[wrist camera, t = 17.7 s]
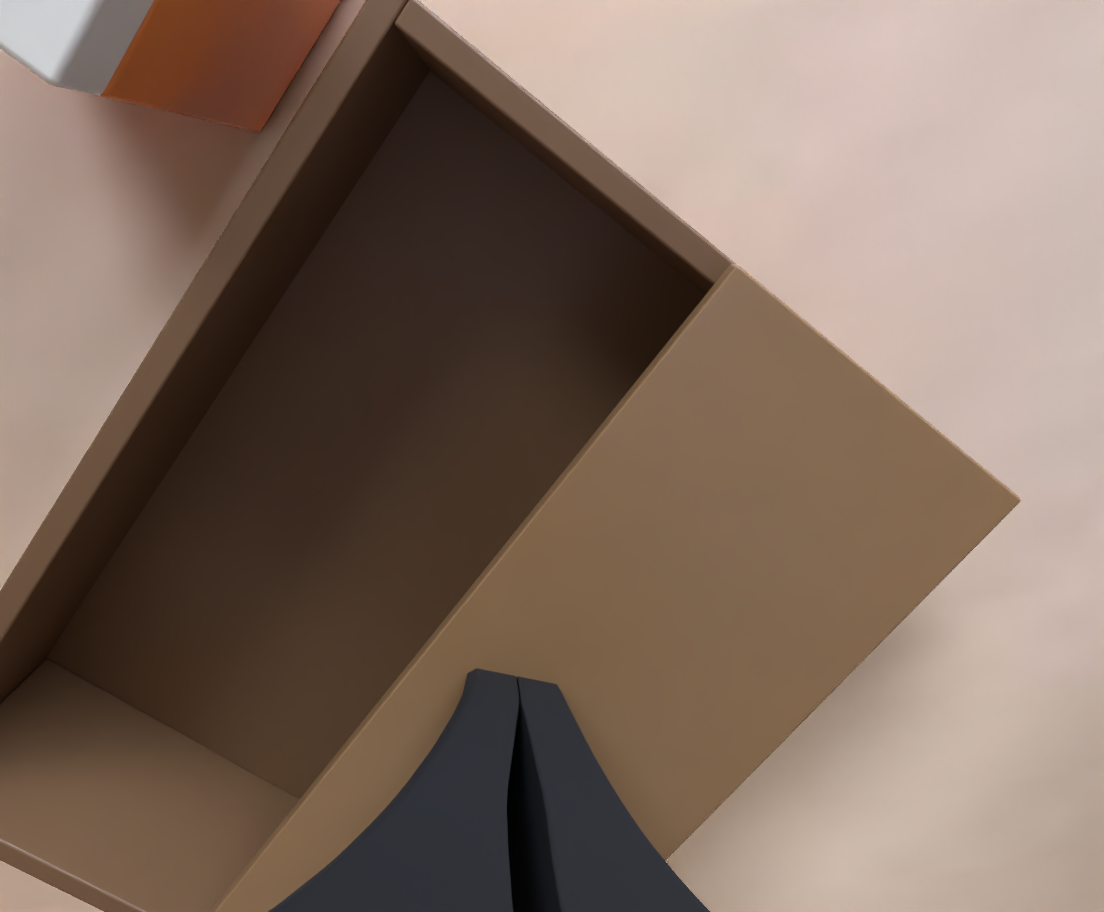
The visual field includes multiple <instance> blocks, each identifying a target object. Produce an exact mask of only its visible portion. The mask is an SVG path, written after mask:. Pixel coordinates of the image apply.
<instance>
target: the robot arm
mask: <svg viewBox="0 0 1104 912" xmlns="http://www.w3.org/2000/svg"><path fill="white" fill-rule="evenodd" d="M268 912H710V911H709V910H708V909H707V908H706V907H705V906H704V905H703V904H702V903H701V902H700V901H699V900H698V899H697V898H696V897H695V895H694V894H693V893H692V892H691V891H690V890H689V889H688V888H687V886H686V885H685V884H684V883H683V882H682V881H681V880H680V879H679V877H678V876H677V875H676V874H675V872H674V871H673V870H672V869H671V868H670V866H669V865H668V864H667V863H666V861H665V860H664V859H663V858H662V856H661V855H660V854H659V853H658V852H657V850H656V849H655V848H654V847H653V845H652V844H651V843H650V841H649V840H648V839H647V837H646V836H645V835H644V833H643V832H642V831H641V829H640V828H639V827H638V825H637V824H636V822H635V821H634V819H633V818H632V816H631V815H630V813H629V812H628V810H627V809H626V807H625V806H624V804H623V803H622V801H621V800H620V798H619V797H618V795H617V793H616V792H615V790H614V789H613V787H612V785H611V784H610V782H609V780H608V779H607V777H606V775H605V773H604V772H603V770H602V768H601V767H600V765H599V763H598V761H597V760H596V758H595V756H594V754H593V753H592V751H591V749H590V747H589V745H588V743H587V742H586V740H585V738H584V736H583V734H582V732H581V730H580V728H579V726H578V724H577V722H576V720H575V718H574V716H573V714H572V712H571V710H570V708H569V706H568V704H567V702H566V700H565V698H564V696H563V694H562V692H561V690H560V689H559V687H558V685H557V684H554V683H549V682H544V681H539V680H534V679H529V678H524V677H519V676H517V680H516V676H514V675H509V674H504V673H499V672H493V671H488V670H483V669H478V668H476V669H474V670H473V671H471V672H469V673H467V678H466V682H465V686H464V690H463V694H462V696H461V699H460V701H459V703H458V705H457V707H456V709H455V711H454V713H453V715H452V717H451V719H450V720H449V722H448V724H447V725H446V727H445V728H444V730H443V732H442V733H441V735H440V737H439V738H438V740H437V742H436V743H435V745H434V746H433V748H432V749H431V751H430V752H429V754H428V755H427V756H426V758H425V759H424V760H423V762H422V763H421V764H420V766H419V767H418V768H417V770H416V771H415V772H414V774H413V775H412V777H411V778H410V779H409V781H408V782H407V783H406V784H405V786H404V787H403V788H402V789H401V790H400V792H399V793H398V794H397V795H396V796H395V798H394V799H393V800H392V801H391V802H390V803H389V805H388V806H387V807H386V808H385V809H384V810H383V811H382V812H381V813H380V814H379V815H378V817H377V818H376V819H375V820H374V821H373V822H372V823H371V824H370V825H369V826H368V827H367V828H366V829H365V830H364V831H363V832H362V833H361V834H360V835H359V836H358V837H357V838H356V839H355V840H354V841H353V842H352V843H351V844H350V845H349V846H348V847H347V848H346V849H345V850H343V851H342V852H341V853H340V854H339V855H338V856H337V857H336V858H335V859H334V860H332V861H331V862H330V863H329V864H328V865H327V866H326V867H324V868H323V869H322V870H321V871H319V872H318V873H317V874H316V875H314V876H313V877H312V878H311V879H309V880H308V881H307V882H306V883H304V884H303V885H302V886H301V887H299V888H298V889H297V890H296V891H294V892H293V893H292V894H291V895H289V896H288V897H287V898H286V899H284V900H283V901H282V902H280V903H279V904H278V905H276V906H275V907H274V908H272V909H271V910H270V911H268Z"/></svg>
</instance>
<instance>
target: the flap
mask: <svg viewBox="0 0 1104 912" xmlns="http://www.w3.org/2000/svg"><path fill="white" fill-rule="evenodd" d="M1020 501H1021V500H1020V498H1019V497H1018V496H1017V495H1016V494H1015V493H1013V492H1012V491H1011V490H1010V489H1009V488H1007V487H1006V486H1005V485H1004V484H1002V483H1001V482H1000V481H999V480H998V479H996V478H995V477H994V476H993V475H992V474H990V473H989V472H988V471H987V470H985V469H984V468H983V467H982V466H981V465H979V464H978V463H977V462H976V461H975V460H973V459H972V458H971V457H970V456H969V455H967V454H966V453H965V452H964V451H962V450H961V449H960V448H959V447H958V446H956V445H955V444H954V443H953V442H952V441H950V440H949V439H948V438H947V437H945V436H944V435H943V434H942V433H941V432H939V431H938V430H937V429H936V428H935V427H933V426H932V425H931V424H930V423H929V422H927V421H926V420H925V419H924V418H922V417H921V416H920V415H919V414H918V413H916V412H915V411H914V410H913V409H912V408H910V407H909V406H908V405H907V404H905V403H904V402H903V401H902V400H901V399H899V398H898V397H897V396H896V395H895V394H893V393H892V392H891V391H890V390H889V389H887V388H886V387H885V386H884V385H882V384H881V383H880V382H879V381H878V380H876V379H875V378H874V377H873V376H872V375H870V374H869V373H868V372H867V371H865V370H864V369H863V368H862V367H861V366H859V365H858V364H857V363H856V362H855V361H853V360H852V359H851V358H850V357H849V356H847V355H846V354H845V353H844V352H842V351H841V350H840V349H839V348H838V347H836V346H835V345H834V344H833V343H832V342H830V341H829V340H828V339H827V338H826V337H824V336H823V335H822V334H821V333H819V332H818V331H817V330H816V329H815V328H813V327H812V326H811V325H810V324H809V323H807V322H806V321H805V320H804V319H802V318H801V317H800V316H799V315H798V314H796V313H795V312H794V311H793V310H792V309H790V308H789V307H788V306H787V305H786V304H784V303H783V302H782V301H781V300H779V299H778V298H777V297H776V296H775V295H773V294H772V293H771V292H770V291H769V290H767V289H766V288H765V287H764V286H762V285H761V284H760V283H759V282H758V281H756V280H755V279H754V278H753V277H752V276H750V275H749V274H748V273H747V272H746V271H744V270H743V269H742V268H741V267H739V266H737V265H734V264H731V265H729V267H728V268H727V269H726V270H725V271H724V273H723V274H722V275H721V276H720V278H719V279H718V280H717V281H716V283H715V284H714V285H713V286H712V288H711V289H710V290H709V291H708V293H707V294H706V295H705V296H704V298H703V299H702V300H701V301H700V303H699V304H698V305H697V306H696V308H695V309H694V310H693V311H692V312H691V314H690V315H689V316H688V317H687V319H686V320H685V321H684V322H683V324H682V325H681V326H680V327H679V329H678V330H677V331H676V332H675V334H674V335H673V336H672V337H671V339H670V340H669V341H668V342H667V344H666V345H665V346H664V347H663V349H662V350H661V351H660V352H659V353H658V355H657V356H656V357H655V358H654V360H653V361H652V362H651V363H650V365H649V366H648V367H647V368H646V370H645V371H644V372H643V373H642V375H641V376H640V377H639V378H638V380H637V381H636V382H635V383H634V385H633V386H632V387H631V388H630V390H629V391H628V392H627V393H626V394H625V396H624V397H623V398H622V399H621V401H620V402H619V403H618V404H617V406H616V407H615V408H614V409H613V411H612V412H611V413H610V414H609V416H608V417H607V418H606V419H605V421H604V422H603V423H602V424H601V426H600V427H599V428H598V429H597V431H596V432H595V433H594V434H593V435H592V437H591V438H590V439H589V440H588V442H587V443H586V444H585V445H584V447H583V448H582V449H581V450H580V452H579V453H578V454H577V455H576V457H575V458H574V459H573V460H572V462H571V463H570V464H569V465H568V467H567V468H566V469H565V470H564V472H563V473H562V474H561V475H560V476H559V478H558V479H557V480H556V481H555V483H554V484H553V485H552V486H551V488H550V489H549V490H548V491H547V493H546V494H545V495H544V496H543V498H542V499H541V500H540V501H539V503H538V504H537V505H536V506H535V508H534V509H533V510H532V511H531V513H530V514H529V515H528V516H527V517H526V519H525V520H524V521H523V522H522V524H521V525H520V526H519V527H518V529H517V530H516V531H515V532H514V534H513V535H512V536H511V537H510V539H509V540H508V541H507V542H506V544H505V545H504V546H503V547H502V549H501V550H500V551H499V552H498V554H497V555H496V556H495V557H494V558H493V560H492V561H491V562H490V563H489V565H488V566H487V567H486V568H485V570H484V571H483V572H482V573H481V575H480V576H479V577H478V578H477V580H476V581H475V582H474V583H473V585H472V586H471V587H470V588H469V590H468V591H467V592H466V593H465V595H464V596H463V597H462V598H461V599H460V601H459V602H458V603H457V604H456V606H455V607H454V608H453V609H452V611H451V612H450V613H449V614H448V616H447V617H446V618H445V619H444V621H443V622H442V623H441V624H440V626H439V627H438V628H437V629H436V631H435V632H434V633H433V634H432V636H431V637H430V638H429V639H428V640H427V642H426V643H425V644H424V645H423V647H422V648H421V649H420V650H419V652H418V653H417V654H416V655H415V657H414V658H413V659H412V660H411V662H410V663H409V664H408V665H407V667H406V668H405V669H404V670H403V672H402V673H401V674H400V675H399V677H398V678H397V679H396V680H395V681H394V683H393V684H392V685H391V686H390V688H389V689H388V690H387V691H386V693H385V694H384V695H383V696H382V698H381V699H380V700H379V701H378V703H377V704H376V705H375V706H374V708H373V709H372V710H371V711H370V713H369V714H368V715H367V716H366V718H365V719H364V720H363V721H362V722H361V724H360V725H359V726H358V727H357V729H356V730H355V731H354V732H353V734H352V735H351V736H350V737H349V739H348V740H347V741H346V742H345V744H344V745H343V746H342V747H341V749H340V750H339V751H338V752H337V754H336V755H335V756H334V757H333V759H332V760H331V761H330V762H329V763H328V765H327V766H326V767H325V768H324V770H323V771H322V772H321V773H320V775H319V776H318V777H317V778H316V780H315V781H314V782H313V783H312V785H311V786H310V787H309V788H308V790H307V791H306V792H305V793H304V795H303V796H302V797H301V798H300V800H299V801H298V802H297V803H296V804H295V806H294V807H293V808H292V809H291V811H290V812H289V813H288V814H287V816H286V817H285V818H284V819H283V821H282V822H281V823H280V824H279V826H278V827H277V828H276V829H275V831H274V832H273V833H272V834H271V836H270V837H269V838H268V839H267V841H266V842H265V843H264V844H263V845H262V847H261V848H260V849H259V850H258V852H257V853H256V854H255V855H254V857H253V858H252V859H251V860H250V862H249V863H248V864H247V865H246V867H245V868H244V869H243V870H242V872H241V873H240V874H239V875H238V877H237V878H236V879H235V880H234V882H233V883H232V884H231V885H230V886H229V888H228V889H227V890H226V891H225V893H224V894H223V895H222V896H221V898H220V899H219V900H218V901H217V903H216V904H215V905H214V906H213V908H212V909H211V910H210V911H209V912H268V911H270V910H271V909H272V908H274V907H275V906H276V905H278V904H279V903H280V902H282V901H283V900H284V899H286V898H287V897H288V896H289V895H291V894H292V893H293V892H294V891H296V890H297V889H298V888H299V887H301V886H302V885H303V884H304V883H306V882H307V881H308V880H309V879H311V878H312V877H313V876H314V875H316V874H317V873H318V872H319V871H321V870H322V869H323V868H324V867H326V866H327V865H328V864H329V863H330V862H331V861H332V860H334V859H335V858H336V857H337V856H338V855H339V854H340V853H341V852H342V851H343V850H345V849H346V848H347V847H348V846H349V845H350V844H351V843H352V842H353V841H354V840H355V839H356V838H357V837H358V836H359V835H360V834H361V833H362V832H363V831H364V830H365V829H366V828H367V827H368V826H369V825H370V824H371V823H372V822H373V821H374V820H375V819H376V818H377V817H378V815H379V814H380V813H381V812H382V811H383V810H384V809H385V808H386V807H387V806H388V805H389V803H390V802H391V801H392V800H393V799H394V798H395V796H396V795H397V794H398V793H399V792H400V790H401V789H402V788H403V787H404V786H405V784H406V783H407V782H408V781H409V779H410V778H411V777H412V775H413V774H414V772H415V771H416V770H417V768H418V767H419V766H420V764H421V763H422V762H423V760H424V759H425V758H426V756H427V755H428V754H429V752H430V751H431V749H432V748H433V746H434V745H435V743H436V742H437V740H438V738H439V737H440V735H441V733H442V732H443V730H444V728H445V727H446V725H447V724H448V722H449V720H450V719H451V717H452V715H453V713H454V711H455V709H456V707H457V705H458V703H459V701H460V699H461V696H462V694H463V690H464V686H465V682H466V678H467V673H469V672H471V671H473V670H474V669H476V668H478V669H483V670H488V671H493V672H499V673H504V674H509V675H514V676H516V680H517V676H519V677H524V678H529V679H534V680H539V681H544V682H549V683H554V684H557V685H558V687H559V689H560V690H561V692H562V694H563V696H564V698H565V700H566V702H567V704H568V706H569V708H570V710H571V712H572V714H573V716H574V718H575V720H576V722H577V724H578V726H579V728H580V730H581V732H582V734H583V736H584V738H585V740H586V742H587V743H588V745H589V747H590V749H591V751H592V753H593V754H594V756H595V758H596V760H597V761H598V763H599V765H600V767H601V768H602V770H603V772H604V773H605V775H606V777H607V779H608V780H609V782H610V784H611V785H612V787H613V789H614V790H615V792H616V793H617V795H618V797H619V798H620V800H621V801H622V803H623V804H624V806H625V807H626V809H627V810H628V812H629V813H630V815H631V816H632V818H633V819H634V821H635V822H636V824H637V825H638V827H639V828H640V829H641V831H642V832H643V833H644V835H645V836H646V837H647V839H648V840H649V841H650V843H651V844H652V845H653V847H654V848H655V849H656V850H657V852H658V853H659V854H660V855H661V856H662V858H663V859H664V860H666V859H667V858H668V857H669V856H670V855H671V854H672V853H673V852H674V851H675V850H676V849H677V848H678V847H679V846H680V845H681V844H682V843H683V842H684V841H685V840H686V839H687V838H688V837H689V836H690V835H691V834H692V833H693V832H694V831H695V830H696V829H697V828H698V827H699V826H700V825H701V824H702V823H703V822H704V821H705V820H706V819H707V818H708V817H709V816H710V815H711V814H712V813H713V812H714V811H715V810H716V809H717V808H718V807H719V806H720V805H721V804H722V803H723V802H724V801H725V800H726V799H727V798H728V797H729V796H730V795H731V794H732V793H733V792H734V790H735V789H736V788H737V787H738V786H739V785H740V784H741V783H742V782H743V781H744V780H745V779H746V778H747V777H748V776H749V775H750V774H751V773H752V772H753V771H754V770H755V769H756V768H757V767H758V766H759V765H760V764H761V763H762V762H763V761H764V760H765V759H766V758H767V757H768V756H769V755H770V754H771V753H772V752H773V751H774V750H775V749H776V748H777V747H778V746H779V745H780V744H781V743H782V742H783V741H784V740H785V739H786V738H787V737H788V736H789V735H790V734H791V733H792V732H793V731H794V730H795V729H796V728H797V727H798V726H799V725H800V724H801V723H802V722H803V721H804V720H805V719H806V718H807V717H808V716H809V715H810V714H811V713H812V712H813V711H814V710H815V709H816V708H817V707H818V706H819V705H820V704H821V703H822V702H823V700H824V699H825V698H826V697H827V696H828V695H829V694H830V693H831V692H832V691H833V690H834V689H835V688H836V687H837V686H838V685H839V684H840V683H841V682H842V681H843V680H844V679H845V678H846V677H847V676H848V675H849V674H850V673H851V672H852V671H853V670H854V669H855V668H856V667H857V666H858V665H859V664H860V663H861V662H862V661H863V660H864V659H865V658H866V657H867V656H868V655H869V654H870V653H871V652H872V651H873V650H874V649H875V648H876V647H877V646H878V645H879V644H880V643H881V642H882V641H883V640H884V639H885V638H886V637H887V636H888V635H889V634H890V633H891V632H892V631H893V630H894V629H895V628H896V627H897V626H898V625H899V624H900V623H901V622H902V621H903V620H904V619H905V618H906V617H907V616H908V615H909V614H910V613H911V612H912V610H913V609H914V608H915V607H916V606H917V605H918V604H919V603H920V602H921V601H922V600H923V599H924V598H925V597H926V596H927V595H928V594H929V593H930V592H931V591H932V590H933V589H934V588H935V587H936V586H937V585H938V584H939V583H940V582H941V581H942V580H943V579H944V578H945V577H946V576H947V575H948V574H949V573H950V572H951V571H952V570H953V569H954V568H955V567H956V566H957V565H958V564H959V563H960V562H961V561H962V560H963V559H964V558H965V557H966V556H967V555H968V554H969V553H970V552H971V551H972V550H973V549H974V548H975V547H976V546H977V545H978V544H979V543H980V542H981V541H982V540H983V539H984V538H985V537H986V536H987V535H988V534H989V533H990V532H991V531H992V530H993V529H994V528H995V527H996V526H997V525H998V524H999V523H1000V522H1001V520H1002V519H1003V518H1004V517H1005V516H1006V515H1007V514H1008V513H1009V512H1010V511H1011V510H1012V509H1013V508H1014V507H1015V506H1016V505H1017V504H1018V503H1019V502H1020Z"/></svg>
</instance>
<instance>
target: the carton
mask: <svg viewBox="0 0 1104 912" xmlns="http://www.w3.org/2000/svg"><path fill="white" fill-rule="evenodd" d="M731 264H734V265H736V264H735V263H734V262H733V261H732V260H730V259H729V258H728V257H727V256H726V255H724V254H723V253H722V252H721V251H720V250H718V249H717V248H716V247H715V246H714V245H712V244H711V243H710V242H709V241H708V240H706V239H705V238H704V237H703V236H701V235H700V234H699V233H698V232H697V231H695V230H694V229H693V228H692V227H691V226H689V225H688V224H687V223H686V222H685V221H683V220H682V219H681V218H680V217H679V216H677V215H676V214H675V213H674V212H673V211H671V210H670V209H669V208H668V207H667V206H665V205H664V204H663V203H662V202H660V201H659V200H658V199H657V198H656V197H654V196H653V195H652V194H651V193H650V192H648V191H647V190H646V189H645V188H644V187H642V186H641V185H640V184H639V183H638V182H636V181H635V180H634V179H633V178H632V177H630V176H629V175H628V174H627V173H626V172H624V171H623V170H622V169H621V168H619V167H618V166H617V165H616V164H615V163H613V162H612V161H611V160H610V159H609V158H607V157H606V156H605V155H604V154H603V153H601V152H600V151H599V150H598V149H597V148H595V147H594V146H593V145H592V144H591V143H589V142H588V141H587V140H586V139H585V138H583V137H582V136H581V135H580V134H578V133H577V132H576V131H575V130H574V129H572V128H571V127H570V126H569V125H568V124H566V123H565V122H564V121H563V120H562V119H560V118H559V117H558V116H557V115H556V114H554V113H553V112H552V111H551V110H550V109H548V108H547V107H546V106H545V105H544V104H542V103H541V102H540V101H539V100H537V99H536V98H535V97H534V96H533V95H531V94H530V93H529V92H528V91H527V90H525V89H524V88H523V87H522V86H521V85H519V84H518V83H517V82H516V81H515V80H513V79H512V78H511V77H510V76H509V75H507V74H506V73H505V72H504V71H503V70H501V69H500V68H499V67H498V66H496V65H495V64H494V63H493V62H492V61H490V60H489V59H488V58H487V57H486V56H484V55H483V54H482V53H481V52H480V51H478V50H477V49H476V48H475V47H474V46H472V45H471V44H470V43H469V42H468V41H466V40H465V39H464V38H463V37H462V36H460V35H459V34H458V33H457V32H455V31H454V30H453V29H452V28H451V27H449V26H448V25H447V24H446V23H445V22H443V21H442V20H441V19H440V18H439V17H437V16H436V15H435V14H434V13H433V12H431V11H430V10H429V9H428V8H427V7H425V6H424V5H423V4H422V3H421V2H419V1H418V0H366V2H365V3H364V5H363V6H362V8H361V10H360V11H359V13H358V15H357V16H356V18H355V19H354V21H353V23H352V24H351V26H350V27H349V29H348V31H347V32H346V34H345V36H344V37H343V39H342V40H341V42H340V44H339V45H338V47H337V48H336V50H335V52H334V53H333V55H332V56H331V58H330V60H329V61H328V63H327V65H326V66H325V68H324V69H323V71H322V73H321V74H320V76H319V77H318V79H317V81H316V82H315V84H314V86H313V87H312V89H311V90H310V92H309V94H308V95H307V97H306V98H305V100H304V102H303V103H302V105H301V107H300V108H299V110H298V111H297V113H296V115H295V116H294V118H293V119H292V121H291V123H290V124H289V126H288V127H287V129H286V131H285V132H284V134H283V136H282V137H281V139H280V140H279V142H278V144H277V145H276V147H275V148H274V150H273V152H272V153H271V155H270V157H269V158H268V160H267V161H266V163H265V165H264V166H263V168H262V169H261V171H260V173H259V174H258V176H257V177H256V179H255V181H254V182H253V184H252V186H251V187H250V189H249V190H248V192H247V194H246V195H245V197H244V198H243V200H242V202H241V203H240V205H239V207H238V208H237V210H236V211H235V213H234V215H233V216H232V218H231V219H230V221H229V223H228V224H227V226H226V228H225V229H224V231H223V232H222V234H221V236H220V237H219V239H218V240H217V242H216V244H215V245H214V247H213V248H212V250H211V252H210V253H209V255H208V257H207V258H206V260H205V261H204V263H203V265H202V266H201V268H200V269H199V271H198V273H197V274H196V276H195V278H194V279H193V281H192V282H191V284H190V286H189V287H188V289H187V290H186V292H185V294H184V295H183V297H182V299H181V300H180V302H179V303H178V305H177V307H176V308H175V310H174V311H173V313H172V315H171V316H170V318H169V319H168V321H167V323H166V324H165V326H164V328H163V329H162V331H161V332H160V334H159V336H158V337H157V339H156V340H155V342H154V344H153V345H152V347H151V349H150V350H149V352H148V353H147V355H146V357H145V358H144V360H143V361H142V363H141V365H140V366H139V368H138V370H137V371H136V373H135V374H134V376H133V378H132V379H131V381H130V382H129V384H128V386H127V387H126V389H125V390H124V392H123V394H122V395H121V397H120V399H119V400H118V402H117V403H116V405H115V407H114V408H113V410H112V411H111V413H110V415H109V416H108V418H107V420H106V421H105V423H104V424H103V426H102V428H101V429H100V431H99V432H98V434H97V436H96V437H95V439H94V441H93V442H92V444H91V445H90V447H89V449H88V450H87V452H86V453H85V455H84V457H83V458H82V460H81V461H80V463H79V465H78V466H77V468H76V470H75V471H74V473H73V474H72V476H71V478H70V479H69V481H68V482H67V484H66V486H65V487H64V489H63V491H62V492H61V494H60V495H59V497H58V499H57V500H56V502H55V503H54V505H53V507H52V508H51V510H50V512H49V513H48V515H47V516H46V518H45V520H44V521H43V523H42V524H41V526H40V528H39V529H38V531H37V532H36V534H35V536H34V537H33V539H32V541H31V542H30V544H29V545H28V547H27V549H26V550H25V552H24V553H23V555H22V557H21V558H20V560H19V562H18V563H17V565H16V566H15V568H14V570H13V571H12V573H11V574H10V576H9V578H8V579H7V581H6V582H5V584H4V586H3V587H2V589H1V591H0V860H1V861H3V862H5V863H7V864H9V865H11V866H13V867H15V868H17V869H19V870H21V871H23V872H25V873H27V874H29V875H31V876H33V877H35V878H37V879H39V880H42V881H44V882H46V883H48V884H50V885H52V886H54V887H56V888H58V889H60V890H62V891H64V892H66V893H68V894H70V895H72V896H74V897H76V898H78V899H80V900H82V901H84V902H86V903H88V904H90V905H92V906H94V907H96V908H98V909H100V910H102V911H104V912H209V911H210V910H211V909H212V908H213V906H214V905H215V904H216V903H217V901H218V900H219V899H220V898H221V896H222V895H223V894H224V893H225V891H226V890H227V889H228V888H229V886H230V885H231V884H232V883H233V882H234V880H235V879H236V878H237V877H238V875H239V874H240V873H241V872H242V870H243V869H244V868H245V867H246V865H247V864H248V863H249V862H250V860H251V859H252V858H253V857H254V855H255V854H256V853H257V852H258V850H259V849H260V848H261V847H262V845H263V844H264V843H265V842H266V841H267V839H268V838H269V837H270V836H271V834H272V833H273V832H274V831H275V829H276V828H277V827H278V826H279V824H280V823H281V822H282V821H283V819H284V818H285V817H286V816H287V814H288V813H289V812H290V811H291V809H292V808H293V807H294V806H295V804H296V803H297V802H298V801H299V800H300V798H301V797H302V796H303V795H304V793H305V792H306V791H307V790H308V788H309V787H310V786H311V785H312V783H313V782H314V781H315V780H316V778H317V777H318V776H319V775H320V773H321V772H322V771H323V770H324V768H325V767H326V766H327V765H328V763H329V762H330V761H331V760H332V759H333V757H334V756H335V755H336V754H337V752H338V751H339V750H340V749H341V747H342V746H343V745H344V744H345V742H346V741H347V740H348V739H349V737H350V736H351V735H352V734H353V732H354V731H355V730H356V729H357V727H358V726H359V725H360V724H361V722H362V721H363V720H364V719H365V718H366V716H367V715H368V714H369V713H370V711H371V710H372V709H373V708H374V706H375V705H376V704H377V703H378V701H379V700H380V699H381V698H382V696H383V695H384V694H385V693H386V691H387V690H388V689H389V688H390V686H391V685H392V684H393V683H394V681H395V680H396V679H397V678H398V677H399V675H400V674H401V673H402V672H403V670H404V669H405V668H406V667H407V665H408V664H409V663H410V662H411V660H412V659H413V658H414V657H415V655H416V654H417V653H418V652H419V650H420V649H421V648H422V647H423V645H424V644H425V643H426V642H427V640H428V639H429V638H430V637H431V636H432V634H433V633H434V632H435V631H436V629H437V628H438V627H439V626H440V624H441V623H442V622H443V621H444V619H445V618H446V617H447V616H448V614H449V613H450V612H451V611H452V609H453V608H454V607H455V606H456V604H457V603H458V602H459V601H460V599H461V598H462V597H463V596H464V595H465V593H466V592H467V591H468V590H469V588H470V587H471V586H472V585H473V583H474V582H475V581H476V580H477V578H478V577H479V576H480V575H481V573H482V572H483V571H484V570H485V568H486V567H487V566H488V565H489V563H490V562H491V561H492V560H493V558H494V557H495V556H496V555H497V554H498V552H499V551H500V550H501V549H502V547H503V546H504V545H505V544H506V542H507V541H508V540H509V539H510V537H511V536H512V535H513V534H514V532H515V531H516V530H517V529H518V527H519V526H520V525H521V524H522V522H523V521H524V520H525V519H526V517H527V516H528V515H529V514H530V513H531V511H532V510H533V509H534V508H535V506H536V505H537V504H538V503H539V501H540V500H541V499H542V498H543V496H544V495H545V494H546V493H547V491H548V490H549V489H550V488H551V486H552V485H553V484H554V483H555V481H556V480H557V479H558V478H559V476H560V475H561V474H562V473H563V472H564V470H565V469H566V468H567V467H568V465H569V464H570V463H571V462H572V460H573V459H574V458H575V457H576V455H577V454H578V453H579V452H580V450H581V449H582V448H583V447H584V445H585V444H586V443H587V442H588V440H589V439H590V438H591V437H592V435H593V434H594V433H595V432H596V431H597V429H598V428H599V427H600V426H601V424H602V423H603V422H604V421H605V419H606V418H607V417H608V416H609V414H610V413H611V412H612V411H613V409H614V408H615V407H616V406H617V404H618V403H619V402H620V401H621V399H622V398H623V397H624V396H625V394H626V393H627V392H628V391H629V390H630V388H631V387H632V386H633V385H634V383H635V382H636V381H637V380H638V378H639V377H640V376H641V375H642V373H643V372H644V371H645V370H646V368H647V367H648V366H649V365H650V363H651V362H652V361H653V360H654V358H655V357H656V356H657V355H658V353H659V352H660V351H661V350H662V349H663V347H664V346H665V345H666V344H667V342H668V341H669V340H670V339H671V337H672V336H673V335H674V334H675V332H676V331H677V330H678V329H679V327H680V326H681V325H682V324H683V322H684V321H685V320H686V319H687V317H688V316H689V315H690V314H691V312H692V311H693V310H694V309H695V308H696V306H697V305H698V304H699V303H700V301H701V300H702V299H703V298H704V296H705V295H706V294H707V293H708V291H709V290H710V289H711V288H712V286H713V285H714V284H715V283H716V281H717V280H718V279H719V278H720V276H721V275H722V274H723V273H724V271H725V270H726V269H727V268H728V267H729V265H731ZM737 266H738V265H737Z"/></svg>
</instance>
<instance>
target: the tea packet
mask: <svg viewBox="0 0 1104 912" xmlns="http://www.w3.org/2000/svg"><path fill="white" fill-rule="evenodd" d="M340 1H341V0H0V49H1V50H2V51H4V52H5V53H7V54H8V55H9V56H11V57H12V58H14V59H15V60H16V61H18V62H19V63H21V64H22V65H23V66H25V67H26V68H27V69H29V70H30V71H32V72H33V73H34V74H36V75H37V76H39V77H40V78H41V79H43V80H44V81H46V82H47V83H48V84H50V85H54V86H58V87H62V88H67V89H71V90H75V91H80V92H84V93H88V94H93V95H97V96H99V95H100V96H103V97H106V98H111V99H115V100H119V101H124V102H128V103H133V104H137V105H141V106H146V107H150V108H154V109H159V110H163V111H167V112H172V113H176V114H181V115H185V116H189V117H194V118H198V119H202V120H207V121H211V122H215V123H220V124H224V125H228V126H233V127H237V128H242V129H246V130H250V131H255V132H259V131H261V130H262V128H263V127H264V125H265V123H266V122H267V120H268V118H269V117H270V115H271V114H272V112H273V110H274V109H275V107H276V105H277V104H278V102H279V100H280V99H281V97H282V96H283V94H284V92H285V91H286V89H287V87H288V86H289V84H290V82H291V81H292V79H293V78H294V76H295V74H296V73H297V71H298V69H299V68H300V66H301V64H302V63H303V61H304V60H305V58H306V56H307V55H308V53H309V51H310V50H311V48H312V46H313V45H314V43H315V42H316V40H317V38H318V37H319V35H320V33H321V32H322V30H323V28H324V27H325V25H326V24H327V22H328V20H329V19H330V17H331V15H332V14H333V12H334V10H335V9H336V7H337V6H338V4H339V2H340Z"/></svg>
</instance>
